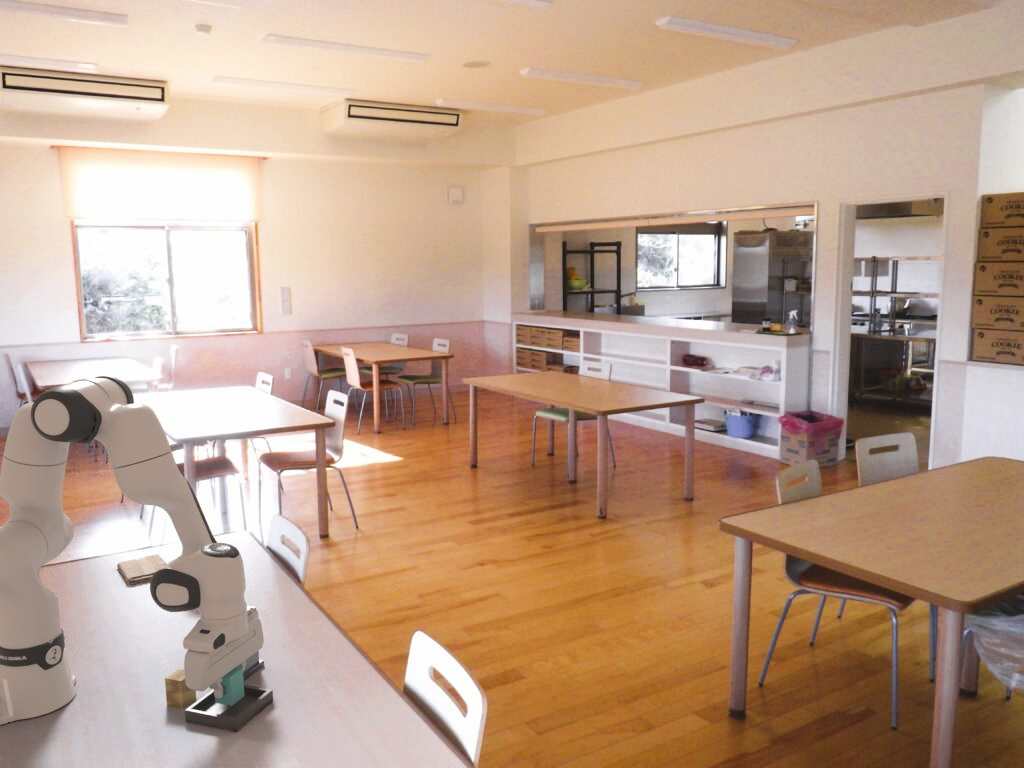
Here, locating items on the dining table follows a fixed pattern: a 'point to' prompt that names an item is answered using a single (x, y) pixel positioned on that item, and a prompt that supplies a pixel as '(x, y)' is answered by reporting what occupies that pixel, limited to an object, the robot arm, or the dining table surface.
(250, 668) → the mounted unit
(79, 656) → the dining table surface
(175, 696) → the ochre block
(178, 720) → the dining table surface
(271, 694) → the black tray
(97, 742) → the dining table surface
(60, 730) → the dining table surface
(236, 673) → the teal block
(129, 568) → the washcloth
